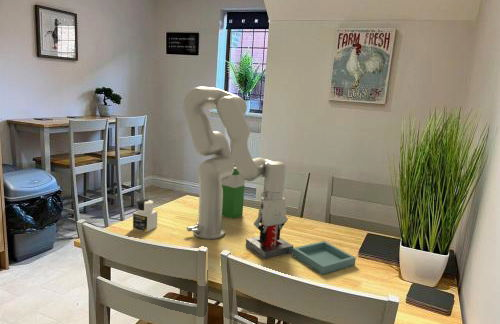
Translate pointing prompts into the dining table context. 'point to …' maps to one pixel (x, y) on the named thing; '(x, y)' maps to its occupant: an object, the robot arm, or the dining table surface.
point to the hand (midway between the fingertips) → (269, 239)
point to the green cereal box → (233, 195)
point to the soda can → (271, 236)
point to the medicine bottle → (145, 216)
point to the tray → (323, 257)
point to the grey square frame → (269, 248)
